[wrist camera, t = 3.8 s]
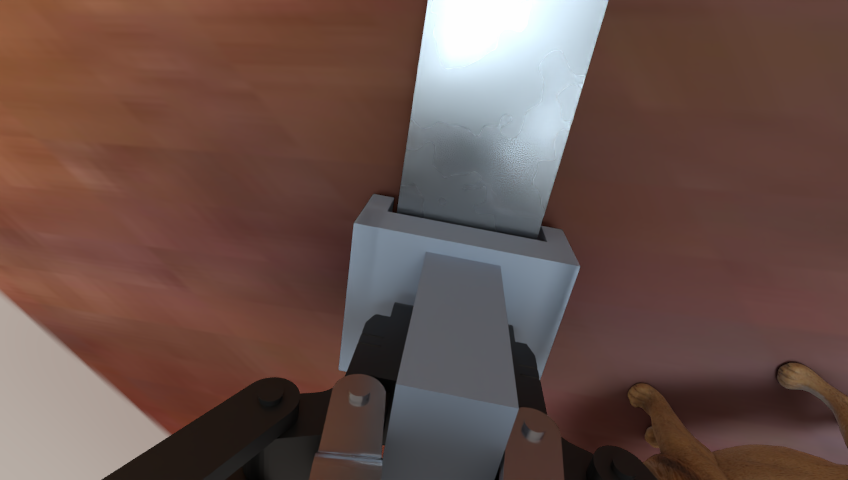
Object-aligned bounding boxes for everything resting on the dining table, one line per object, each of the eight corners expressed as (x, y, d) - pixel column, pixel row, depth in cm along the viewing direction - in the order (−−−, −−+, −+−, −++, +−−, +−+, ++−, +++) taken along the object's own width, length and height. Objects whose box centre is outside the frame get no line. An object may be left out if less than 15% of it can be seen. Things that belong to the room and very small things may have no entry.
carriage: (562, 229, 16) (653, 414, 8) (521, 355, 19) (559, 595, 11) (373, 193, 16) (275, 338, 8) (357, 323, 19) (270, 534, 11)
